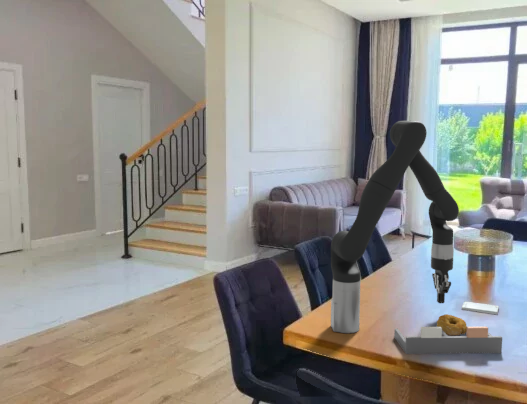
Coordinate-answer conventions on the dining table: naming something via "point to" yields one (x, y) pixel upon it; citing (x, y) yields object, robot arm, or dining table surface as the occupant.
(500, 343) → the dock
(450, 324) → the bagel
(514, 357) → the dining table surface
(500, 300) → the dining table surface
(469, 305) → the hard drive
